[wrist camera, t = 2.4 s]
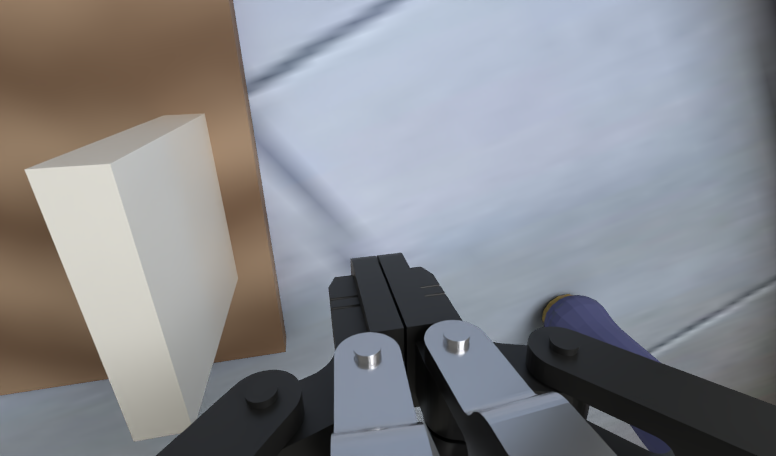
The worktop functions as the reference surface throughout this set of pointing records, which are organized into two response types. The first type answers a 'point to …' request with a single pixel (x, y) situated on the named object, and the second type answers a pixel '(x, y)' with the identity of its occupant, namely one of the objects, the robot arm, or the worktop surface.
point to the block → (145, 261)
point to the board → (98, 121)
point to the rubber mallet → (599, 325)
